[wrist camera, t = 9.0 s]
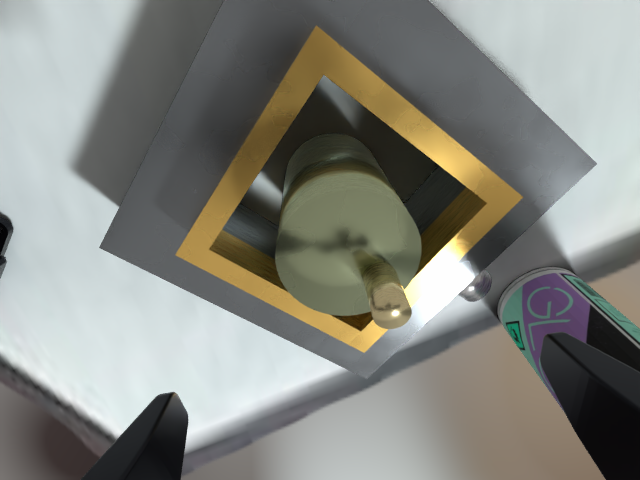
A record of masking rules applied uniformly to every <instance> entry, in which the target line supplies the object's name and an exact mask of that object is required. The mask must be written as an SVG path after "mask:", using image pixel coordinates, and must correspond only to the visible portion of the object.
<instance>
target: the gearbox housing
mask: <svg viewBox="0 0 640 480" xmlns="http://www.w3.org/2000/svg"><path fill="white" fill-rule="evenodd" d="M323 75H325V76H326V77H327V78H329V79H330V80H331V81H332V82H334V83H335V84H336V85H337V86H339V87H340V88H341V89H343V90H344V91H345V92H346V93H348V94H349V95H350V96H351V97H353V98H354V99H355V100H357V101H358V102H359V103H360V104H362V105H363V106H364V107H365V108H367V109H368V110H369V111H371V112H372V113H373V114H374V115H376V116H377V117H378V118H379V119H381V120H382V121H383V122H385V123H386V124H387V125H388V126H390V127H391V128H392V129H394V130H395V131H396V132H397V133H399V134H400V135H401V136H402V137H404V138H405V139H406V140H408V141H409V142H410V143H411V144H413V145H414V146H415V147H416V148H418V149H419V150H420V151H422V152H423V153H424V154H425V155H427V156H428V157H429V158H430V159H432V160H433V161H434V162H436V163H437V164H438V165H439V166H438V167H437V168H436V169H435V170H434V171H433V172H432V174H431V175H430V176H429V177H428V178H427V179H426V180H425V182H424V183H423V184H422V185H421V186H420V187H419V188H418V190H417V191H416V192H415V193H414V194H413V195H412V196H411V198H410V199H409V200H408V201H407V202H406V203H405V204H404V206H405V207H406V209H407V211H408V212H409V214H410V215H411V217H412V219H413V220H414V222H415V224H416V226H417V228H418V231H419V234H420V238H421V246H422V247H421V259H420V263H419V266H418V269H417V272H416V274H415V276H414V278H413V279H412V281H411V282H410V284H409V285H408V286H407V288H406V289H405V290H404V292H405V294H406V297H407V299H408V302H409V304H410V307H411V310H412V314H411V317H410V319H409V320H408V322H407V323H406V324H404V325H403V326H401V327H399V328H396V329H384V328H381V327H379V326H378V325H376V324H375V322H374V320H373V317H372V313H371V311H370V312H367V313H363V314H358V315H350V316H339V315H330V314H325V313H321V312H318V311H315V310H313V309H311V308H309V307H307V306H305V305H303V304H302V303H300V302H299V301H298V300H296V299H295V298H294V297H293V296H292V295H291V294H290V293H289V292H288V291H287V289H286V288H285V287H284V285H283V283H282V281H281V280H280V278H279V275H278V272H277V268H276V263H275V251H276V243H277V236H278V228H279V227H278V226H276V225H275V224H273V223H271V222H270V221H268V220H266V219H265V218H263V217H261V216H260V215H258V214H256V213H255V212H253V211H251V210H250V209H248V208H246V207H245V206H243V205H241V204H240V201H241V200H242V198H243V197H244V195H245V193H246V192H247V190H248V189H249V187H250V186H251V184H252V183H253V181H254V180H255V178H256V177H257V175H258V174H259V172H260V171H261V169H262V168H263V166H264V165H265V163H266V162H267V160H268V158H269V157H270V155H271V154H272V152H273V151H274V149H275V148H276V146H277V145H278V143H279V142H280V140H281V139H282V137H283V136H284V134H285V133H286V131H287V130H288V128H289V127H290V125H291V124H292V122H293V120H294V119H295V117H296V116H297V114H298V113H299V111H300V110H301V108H302V107H303V105H304V104H305V102H306V101H307V99H308V98H309V96H310V95H311V93H312V92H313V90H314V89H315V87H316V85H317V84H318V82H319V81H320V79H321V78H322V76H323ZM596 164H597V163H596V162H595V161H594V160H593V159H592V158H591V157H590V156H589V155H588V154H586V153H585V152H584V151H583V150H582V149H581V148H580V147H579V146H578V145H577V144H576V143H575V142H574V141H573V140H572V139H571V138H570V137H569V136H568V135H567V134H566V133H565V132H564V131H563V130H562V129H561V128H560V127H559V126H558V125H556V124H555V123H554V122H553V121H552V120H551V119H550V118H549V117H548V116H547V115H546V114H545V113H544V112H543V111H542V110H541V109H540V108H539V107H538V106H537V105H536V104H535V103H534V102H533V101H532V100H531V99H530V98H529V97H528V96H526V95H525V94H524V93H523V92H522V91H521V90H520V89H519V88H518V87H517V86H516V85H515V84H514V83H513V82H512V81H511V80H510V79H509V78H508V77H507V76H506V75H505V74H504V73H503V72H502V71H501V70H500V69H499V68H498V67H497V66H495V65H494V64H493V63H492V62H491V61H490V60H489V59H488V58H487V57H486V56H485V55H484V54H483V53H482V52H481V51H480V50H479V49H478V48H477V47H476V46H475V45H474V44H473V43H472V42H471V41H470V40H469V39H468V38H467V37H465V36H464V35H463V34H462V33H461V32H460V31H459V30H458V29H457V28H456V27H455V26H454V25H453V24H452V23H451V22H450V21H449V20H448V19H447V18H446V17H445V16H444V15H443V14H442V13H441V12H440V11H439V10H438V9H437V8H435V7H434V6H433V5H432V4H431V3H430V2H429V1H428V0H224V1H223V3H222V5H221V7H220V9H219V11H218V13H217V15H216V17H215V19H214V21H213V23H212V25H211V27H210V29H209V31H208V33H207V35H206V37H205V39H204V41H203V43H202V45H201V47H200V49H199V51H198V53H197V55H196V57H195V59H194V61H193V63H192V65H191V67H190V68H189V70H188V72H187V74H186V76H185V78H184V80H183V82H182V84H181V86H180V88H179V90H178V92H177V94H176V96H175V98H174V100H173V102H172V104H171V106H170V108H169V110H168V112H167V114H166V116H165V118H164V120H163V122H162V124H161V126H160V128H159V130H158V132H157V134H156V136H155V138H154V140H153V142H152V144H151V146H150V148H149V150H148V152H147V154H146V156H145V158H144V160H143V162H142V164H141V166H140V168H139V170H138V172H137V174H136V176H135V178H134V180H133V182H132V184H131V186H130V188H129V190H128V192H127V193H126V195H125V197H124V199H123V201H122V203H121V205H120V207H119V209H118V211H117V213H116V215H115V217H114V219H113V221H112V223H111V225H110V227H109V229H108V231H107V233H106V235H105V237H104V239H103V241H102V243H101V245H100V247H99V248H101V249H103V250H105V251H107V252H109V253H111V254H113V255H115V256H117V257H119V258H121V259H123V260H125V261H127V262H129V263H131V264H133V265H136V266H138V267H140V268H142V269H144V270H146V271H148V272H150V273H152V274H154V275H156V276H158V277H160V278H162V279H164V280H166V281H168V282H170V283H172V284H174V285H176V286H178V287H180V288H182V289H184V290H186V291H188V292H191V293H193V294H195V295H197V296H199V297H201V298H203V299H205V300H207V301H209V302H211V303H213V304H215V305H217V306H219V307H221V308H223V309H225V310H227V311H229V312H231V313H233V314H235V315H237V316H239V317H241V318H243V319H246V320H248V321H250V322H252V323H254V324H256V325H258V326H260V327H262V328H264V329H266V330H268V331H270V332H272V333H274V334H276V335H278V336H280V337H282V338H284V339H286V340H288V341H290V342H292V343H294V344H296V345H299V346H301V347H303V348H305V349H307V350H309V351H311V352H313V353H315V354H317V355H319V356H321V357H323V358H325V359H327V360H329V361H331V362H333V363H335V364H337V365H339V366H341V367H343V368H345V369H347V370H349V371H351V372H354V373H356V374H358V375H360V376H362V377H364V378H366V379H367V378H368V377H369V376H371V375H372V374H373V373H374V372H375V371H376V370H377V369H378V368H379V367H380V366H381V365H382V364H383V363H384V362H386V361H387V360H388V359H389V358H390V357H391V356H392V355H393V354H394V353H395V352H396V351H397V350H398V349H399V348H401V347H402V346H403V345H404V344H405V343H406V342H407V341H408V340H409V339H410V338H411V337H412V336H413V335H414V334H415V333H417V332H418V331H419V330H420V329H421V328H422V327H423V326H424V325H425V324H426V323H427V322H428V321H429V320H430V319H432V318H433V317H434V316H435V315H436V314H437V313H438V312H439V311H440V310H441V309H442V308H443V307H444V306H445V305H447V304H448V303H449V302H450V301H451V300H452V299H453V298H454V297H455V296H456V295H457V294H458V295H459V296H461V297H462V298H464V299H465V300H467V301H470V302H474V301H478V300H480V299H481V298H483V297H484V296H485V295H486V294H487V293H488V291H489V289H490V287H491V283H492V279H491V275H490V274H489V273H488V272H487V271H485V270H484V269H485V268H486V267H487V266H488V265H489V264H490V263H491V262H493V261H494V260H495V259H496V258H497V257H498V256H499V255H500V254H501V253H502V252H503V251H504V250H505V249H506V248H508V247H509V246H510V245H511V244H512V243H513V242H514V241H515V240H516V239H517V238H518V237H519V236H520V235H521V234H522V233H524V232H525V231H526V230H527V229H528V228H529V227H530V226H531V225H532V224H533V223H534V222H535V221H536V220H537V219H539V218H540V217H541V216H542V215H543V214H544V213H545V212H546V211H547V210H548V209H549V208H550V207H551V206H552V205H554V204H555V203H556V202H557V201H558V200H559V199H560V198H561V197H562V196H563V195H564V194H565V193H566V192H567V191H569V190H570V189H571V188H572V187H573V186H574V185H575V184H576V183H577V182H578V181H579V180H580V179H581V178H582V177H583V176H585V175H586V174H587V173H588V172H589V171H590V170H591V169H592V168H593V167H594V166H595V165H596Z"/></svg>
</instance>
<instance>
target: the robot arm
mask: <svg viewBox="0 0 640 480" xmlns="http://www.w3.org/2000/svg"><path fill="white" fill-rule="evenodd" d="M0 227H1V228H2V229H3V230H1V229H0V278H1V276H2V273H3V270H4V268H5V265H6V263H7V261H6V257H4V254H5V252H6V249H7V246H8V244H9V241H10V238H11V236H12V233H13V226H12V224H11V223H10V222H9V221H7V220H6V219H4V218H2V217H0ZM540 363H541V366H542V369H543V371H544V373H545V375H546V377H547V379H548V381H549V383H550V385H551V386H552V388H553V390H554V392H555V394H556V396H557V398H558V400H559V402H560V404H561V406H562V408H563V410H564V412H565V414H566V416H567V418H568V420H569V421H570V423H571V425H572V427H573V429H574V431H575V432H576V434H577V435H578V437H579V439H580V440H581V442H582V443H583V445H584V447H585V448H586V450H587V451H588V453H589V454H590V456H591V457H592V459H593V461H594V462H595V464H596V465H597V466H598V468H599V470H600V471H601V473H602V474H603V476H604V478H605V479H606V480H640V372H639V371H637V370H635V369H633V368H631V367H629V366H628V365H626V364H624V363H622V362H620V361H618V360H616V359H614V358H613V357H611V356H609V355H607V354H605V353H603V352H601V351H599V350H598V349H596V348H594V347H592V346H590V345H588V344H586V343H585V342H583V341H581V340H579V339H577V338H575V337H573V336H571V335H570V334H568V333H565V332H555V333H549V334H546V335H545V336H544V337H543V342H542V348H541V354H540ZM187 427H188V414H187V411H186V409H185V408H184V406H183V404H182V402H181V400H180V398H179V396H178V395H177V394H176V393H175V392H170V393H164V394H160V395H158V396H156V397H155V398H154V400H153V401H152V402H151V403H150V404H149V405H148V406H147V407H146V408H145V409H144V410H143V412H142V413H141V414H140V415H139V416H138V417H137V418H136V419H135V420H134V421H133V423H132V424H131V425H130V426H129V427H128V428H127V429H126V430H125V431H124V432H123V434H122V435H121V436H120V437H119V438H118V439H117V440H116V441H115V442H114V443H113V445H112V446H111V447H110V448H109V449H108V450H107V451H106V452H105V453H104V454H103V456H102V457H101V458H100V459H99V460H98V461H97V462H96V463H95V464H94V465H93V467H92V468H91V469H90V470H89V471H88V472H87V473H86V474H85V475H84V477H82V479H81V480H181V474H182V466H183V458H184V450H185V443H186V435H187Z"/></svg>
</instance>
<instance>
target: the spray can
mask: <svg viewBox="0 0 640 480" xmlns="http://www.w3.org/2000/svg"><path fill="white" fill-rule="evenodd" d="M497 313H498V317H499V320H500V321H501V323H502V325H503V326H504V328H505V329H506V331H507V332H508V334H509V335H510V336H511V338H512V339H513V341H514V342H515V343H516V345H517V346H518V348H519V349H520V351H521V352H522V353H523V355H524V356H525V358H526V359H527V360H528V362H529V363H530V365H531V366H532V367H533V369H534V370H535V372H536V373H537V374H538V376H539V377H540V379H541V380H542V381H543V383H544V384H545V386H546V387H547V388H548V390H549V391H550V392H551V394H552V395H553V397H554V398H555V399H556V401H557V402H558V404H559V405H560V407H561V408H562V406H561V404H560V402H559V400H558V398H557V396H556V394H555V392H554V390H553V388H552V386H551V385H550V383H549V381H548V379H547V377H546V375H545V373H544V371H543V369H542V366H541V363H540V354H541V348H542V342H543V337H544V336H545V335H546V334H549V333H555V332H565V333H568V334H570V335H571V336H573V337H575V338H577V339H579V340H581V341H583V342H585V343H586V344H588V345H590V346H592V347H594V348H596V349H598V350H599V351H601V352H603V353H605V354H607V355H609V356H611V357H613V358H614V359H616V360H618V361H620V362H622V363H624V364H626V365H628V366H629V367H631V368H633V369H635V370H637V371H639V372H640V329H639V328H638V327H637V326H636V325H635V324H633V323H632V322H631V321H630V320H628V319H627V318H626V317H625V316H624V315H623V314H621V313H620V312H619V311H618V310H617V309H616V308H614V307H613V306H612V305H611V304H610V303H608V302H607V301H606V300H605V299H604V298H603V297H601V296H600V295H599V294H598V293H597V292H595V291H594V290H593V289H592V288H591V287H590V286H588V285H587V284H586V283H585V282H584V281H583V280H581V279H580V278H579V277H577V276H576V275H575V274H573V273H572V272H570V271H569V270H566V269H563V268H558V267H545V268H540V269H536V270H533V271H530V272H528V273H526V274H524V275H522V276H521V277H519V278H518V279H516V280H515V281H514V282H512V283H511V284H510V285H509V286H508V287H507V289H506V290H505V291H504V292H503V294H502V296H501V298H500V300H499V303H498V310H497ZM562 410H563V408H562ZM563 411H564V410H563Z"/></svg>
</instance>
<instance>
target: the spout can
mask: <svg viewBox="0 0 640 480" xmlns="http://www.w3.org/2000/svg"><path fill="white" fill-rule="evenodd" d="M421 247H422V246H421V238H420V234H419V231H418V228H417V226H416V224H415V222H414V220H413V219H412V217H411V215H410V214H409V212H408V211H407V209H406V207H405V206H404V204H403V203H402V201H401V199H400V198H399V196H398V195H397V193H396V191H395V190H394V188H393V187H392V185H391V183H390V182H389V180H388V179H387V177H386V175H385V174H384V172H383V170H382V169H381V167H380V166H379V164H378V162H377V161H376V159H375V158H374V156H373V154H372V153H371V151H370V150H369V149H368V148H367V147H366V146H365V145H364V144H363V143H362V142H360V141H359V140H357V139H355V138H353V137H351V136H348V135H345V134H338V133H329V134H323V135H319V136H316V137H314V138H311V139H310V140H308V141H306V142H305V143H303V144H302V145H301V146H300V147H299V148H298V149H297V150H296V151H295V153H294V154H293V155H292V157H291V159H290V161H289V163H288V166H287V170H286V175H285V183H284V190H283V198H282V205H281V213H280V220H279V228H278V236H277V243H276V251H275V263H276V268H277V272H278V275H279V278H280V280H281V281H282V283H283V285H284V287H285V288H286V289H287V291H288V292H289V293H290V294H291V295H292V296H293V297H294V298H295V299H296V300H298V301H299V302H300V303H302V304H303V305H305V306H307V307H309V308H311V309H313V310H315V311H318V312H321V313H325V314H330V315H339V316H350V315H358V314H363V313H367V312H370V311H371V313H372V317H373V320H374V322H375V324H376V325H378V326H379V327H381V328H384V329H396V328H399V327H401V326H403V325H404V324H406V323H407V322H408V320H409V319H410V317H411V314H412V310H411V307H410V304H409V302H408V299H407V297H406V294H405V292H404V290H405V289H406V288H407V286H408V285H409V284H410V282H411V281H412V279H413V278H414V276H415V274H416V272H417V269H418V266H419V263H420V259H421Z"/></svg>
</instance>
